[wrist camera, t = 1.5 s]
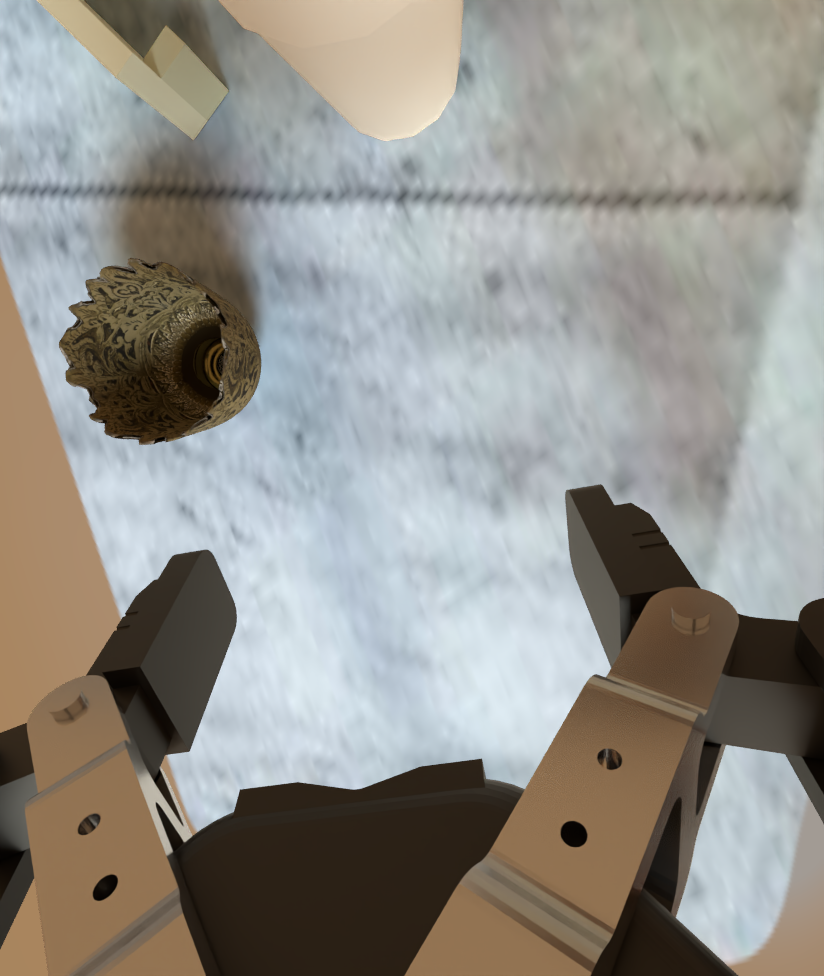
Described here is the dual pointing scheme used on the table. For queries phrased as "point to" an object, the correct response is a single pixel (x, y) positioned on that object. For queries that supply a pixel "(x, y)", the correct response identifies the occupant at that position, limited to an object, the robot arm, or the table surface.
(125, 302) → the cup
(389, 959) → the robot arm
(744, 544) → the table surface
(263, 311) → the table surface
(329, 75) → the foam cup
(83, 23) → the walled box
